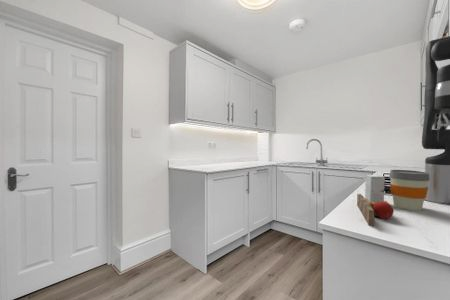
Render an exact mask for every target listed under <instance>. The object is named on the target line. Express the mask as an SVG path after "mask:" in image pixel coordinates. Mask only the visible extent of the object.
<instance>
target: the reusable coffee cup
mask: <svg viewBox="0 0 450 300" xmlns="http://www.w3.org/2000/svg"><path fill="white" fill-rule="evenodd" d="M389 178H390V183H389V187H390V194H391V195H392V202H393V206H394V207H396V208H399V209H403V210H407V211H422V210H423V206H424V201H425V199H424V198H426V195H427V191H428V187H427V184H428V181H429V173H427V172H425V171H421V170H420V171H419V170H410V169H409V170H408V169H407V170H406V169H391V170H390V172H389Z"/></svg>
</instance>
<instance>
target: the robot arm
mask: <svg viewBox="0 0 450 300" xmlns="http://www.w3.org/2000/svg"><path fill="white" fill-rule="evenodd" d="M446 60H450V35H449V36H445V37H440V38H436V39H432V40H429V41H428V42H427V44H426V47H425V72H426V73H425V85H424V99H423V100H424V104H423V105H424V114H423V115H424V116H423V125H422V133H421V145H422V148H423V149H425V150H444V151H442V152H441V153H440V154H436V155H432V156H427V157H426V158H425V160H424V172H427V173H429V181H428V184H427V187H428V191H427V195H426V198H424V201H428V202H431V203H436V204H446V205H449V204H450V128H448V127H450V63H449V64H447V65H443V66H440V67H438V65H437V63H436V62H441V61H446ZM433 126H434V128H433Z"/></svg>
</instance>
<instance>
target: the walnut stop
mask: <svg viewBox="0 0 450 300" xmlns="http://www.w3.org/2000/svg"><path fill="white" fill-rule="evenodd" d="M356 206H357V207H358V209H359V211H360V212H361V214H362V216H363V218H364V220H365V221H366V223H367V225H368V226H371V227H374V226H375V225H374V224H375V213H374V210H373V209H372V207H371V206H370V205H369V204H368V202H367V201H366V200H365V196H363V195H362V193H357V195H356Z"/></svg>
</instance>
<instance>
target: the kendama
mask: <svg viewBox="0 0 450 300" xmlns="http://www.w3.org/2000/svg"><path fill="white" fill-rule="evenodd" d="M365 200H366V201H367V202H368V204H369V205H370V206H371V207H372V209H373V210H374V216H377V217H378V218H381V219H385V220H387V219H390V218H391V217H392V216H393V214H394V208H393V206H392V205H391V203H389V202H388V201H387V200H384V201H379V202H376V203H373V202H371V201H369V200H368V199H365Z"/></svg>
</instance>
